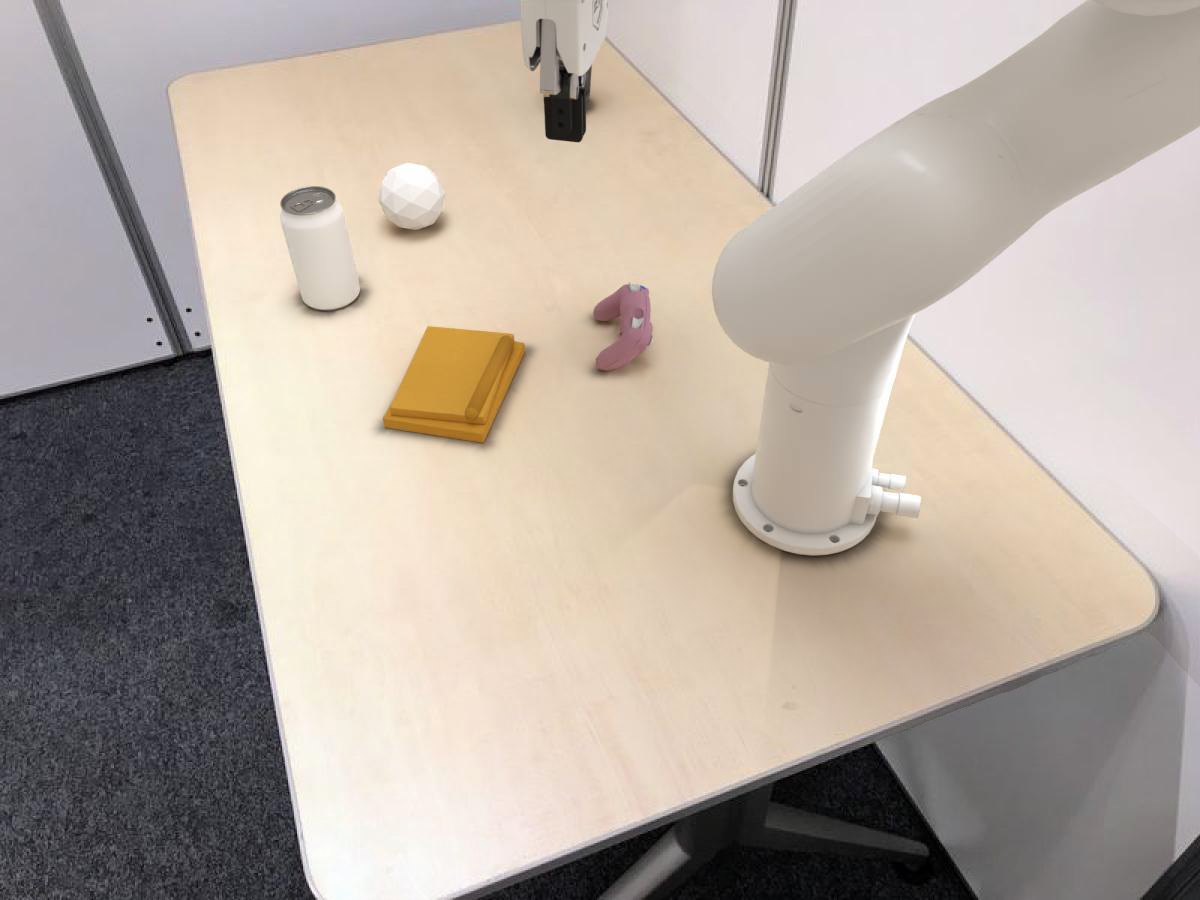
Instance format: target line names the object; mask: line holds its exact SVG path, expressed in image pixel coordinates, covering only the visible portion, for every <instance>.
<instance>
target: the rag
mask: <svg viewBox="0 0 1200 900" xmlns="http://www.w3.org/2000/svg"><path fill="white" fill-rule="evenodd" d="M525 353H526V349H525V342H520V341H515V334H514V333H509V332H500V331H499V332H497V331H487V330H477V329H476V330H475V329H467V328H465V329H464V328H455V327H454V328H453V327H442V326H433V325H427V326H426V329H425V331H424V333H423V335H422V337H421V340H420V341H419V344H418V346H417V348H416V350H415V353H414V355H413V357H412V359H411V361H410V363H409V365H408V367H407V369H406V372H405V374H404V376H403V378H402V381H401V383H400V385H399V387H398V389H397V392H396V393H395V396H394V397H393V400H392V401H391V403H390V405H389V406H388V408H387V410H386V412H385V413H384V415H383V417H382V421H383V425H384V428H387V429H393V430H400V431H406V432H410V433H411V432H412V433H419V434H425V435H431V436H437V437H444V438H450V439H456V440H463V441H470V442H476V443H482V444H483V443H485V440H486V438H487V436H488V434H489V432H490V430H491V427H492V425H493V423H494V421H495V419H496V416H497V414H498V412H499V410H500V408H501V405H502V403H503V401H504V399H505V396H506V395H507V392H508V390H509V387H510V385H511V383H512V381H513V379H514V376H515V375H516V372H517V370H518V368H519V366H520V363H521V362H522V359H523V356H524V355H525Z"/></svg>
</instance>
